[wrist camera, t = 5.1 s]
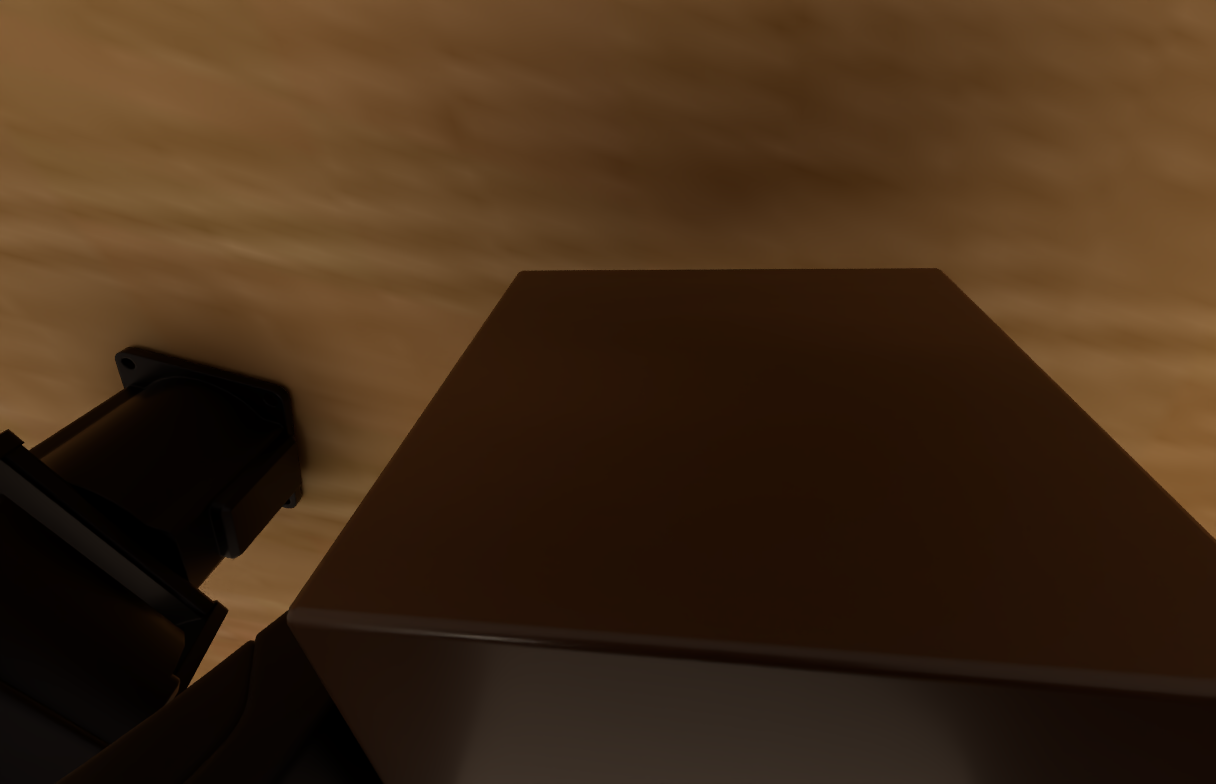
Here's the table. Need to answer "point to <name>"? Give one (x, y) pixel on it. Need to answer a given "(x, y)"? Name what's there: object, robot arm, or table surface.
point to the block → (763, 553)
